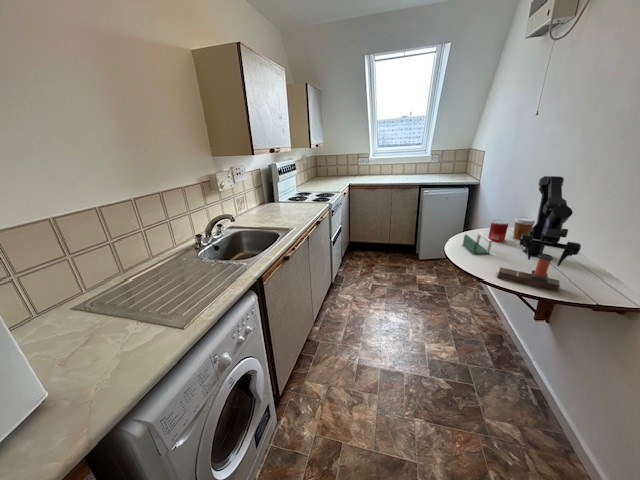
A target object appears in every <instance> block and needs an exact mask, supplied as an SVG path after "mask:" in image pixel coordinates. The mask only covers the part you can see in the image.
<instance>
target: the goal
mask: <svg viewBox="0 0 640 480" xmlns="http://www.w3.org/2000/svg"><path fill="white" fill-rule="evenodd" d="M481 238H482V239H484V240H485V241H486V242H487V246H486V248H484V246H482V245H481V244H480V240H481ZM492 243H493V241H492V240H490V239H489V238H488V236H486V235H485V234H483V233H482V232H480V231H479V232H477V235H476V239H473V238H472V237H471V236H469V235H468V234H465V233H464V236H463V242H462V246H463V247H464V248H465V249H466V250H468V251H469V252H470V253H471V254H472V255H490V253H491V247H492Z"/></svg>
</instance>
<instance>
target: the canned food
mask: <svg viewBox="0 0 640 480" xmlns="http://www.w3.org/2000/svg"><path fill="white" fill-rule="evenodd" d="M508 227H509V221H507V220H504V219H492V220H491V223H490V227H489V232H488V236H487V238H489V239H490V240H492V242H495V243H502V242H504V241H505V239H506V235H507V231H508Z"/></svg>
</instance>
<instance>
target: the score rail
mask: <svg viewBox="0 0 640 480" xmlns="http://www.w3.org/2000/svg"><path fill="white" fill-rule="evenodd" d="M497 279H500V280H506V281H508V282H509V281H510V282H513V283H518V284H521V285H525V286H526V285H527V286H530V287H533V288H534V287H535V288H538V289H542V290H547V291H551V292H555V293H558V292H559V289H560V287H561V285H560V283H561V282H560V280H559V279H556V278H551V277H548V281H547V283H545V282H541V281H536V280H532V279H531V273H529V272H524V271H520V270H515V269H512V268H511V269H510V268H506V267H499V270H498V274H497Z"/></svg>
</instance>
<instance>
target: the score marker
mask: <svg viewBox="0 0 640 480" xmlns="http://www.w3.org/2000/svg"><path fill="white" fill-rule="evenodd" d="M537 258H538V260H537V262H536V266H535V269H534V270H531V273H530V274H531V279H532V280H536V281H541V282H545V283H547V281H548V278H549V276H548V275H549V274H548V270H549V267H550V264H551V261H553V260H554V256H552V255H550V254H547V253H543V254H538V256H537Z"/></svg>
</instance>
